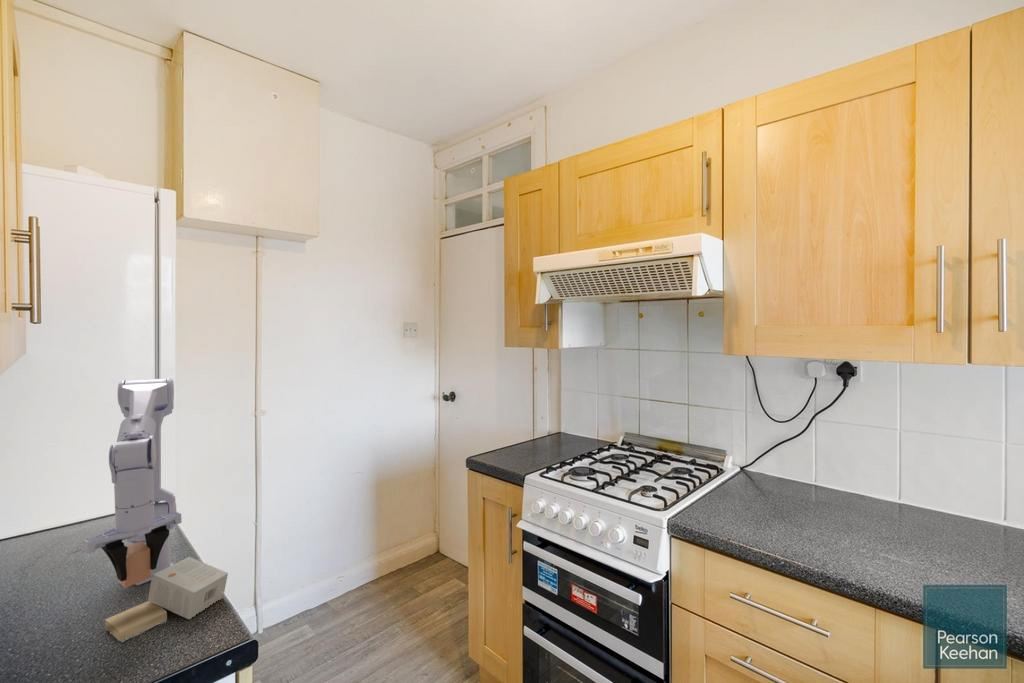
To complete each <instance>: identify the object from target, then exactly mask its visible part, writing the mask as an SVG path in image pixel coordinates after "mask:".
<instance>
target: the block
mask: <svg viewBox="0 0 1024 683" xmlns="http://www.w3.org/2000/svg"><path fill="white" fill-rule="evenodd" d="M126 547H128V549H127V556H126V570H127V579H126V580H125V581H120V580H119V579H118V578H117V574H116V573H115V578H116V581H117V582H118V583H119V584H120V585H121V586H122V587H123V588H125V589H126V588H129V587H131V586H134V585H135V584H136V583H139V582H141V581H143V580H146V579H148V578H150V577H151V571H150V548H149V547H148V546H146V545H145V544H144V543H142V542H141V541H140V542H138V543H135V544H132V545H129V546H126Z"/></svg>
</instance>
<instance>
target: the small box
mask: <svg viewBox="0 0 1024 683" xmlns="http://www.w3.org/2000/svg"><path fill="white" fill-rule="evenodd" d="M173 564H174V565H172V566H170V567H168V568H166V569H164V570H161V571H159V572H157V573H155V574H153V575H152V579H151V580H150V585H149V592H148V597H147V601H149V602H152V603H154V604H156V605H158V606H160V607H161V608H163V609H164V610H166V611H170V612H171V613H174V614H176V615H178V616H180V617H182V618H185V619H186V620H191V619H193V618H194V617H196V614H197V615H199V612H200V613H201V612H203V611H204V610H206V609H207V608H209V607H210V605H211V606H212V605H214V604H215V603H217V602H219V601H221V600H222V599H223V598H224V595H225V591H226V585H227V580H228V575H229V573H228V572H226V571H224V570H223V569H219V568H217V567H215V566H212V565H210V564H208V563H205V562H202V561H200V560H198V559H196V558H193V557H191V556H187V557H185V558H184V559H182V560H180V561H178V562H176V563H173ZM219 588H220V589H219ZM221 591H222V592H223V593H224V595H223V594H222V592H221ZM222 596H223V597H222ZM218 600H219V601H218ZM216 601H217V602H216ZM213 603H214V604H213ZM205 608H206V609H205ZM192 617H193V618H192Z"/></svg>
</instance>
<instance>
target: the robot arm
mask: <svg viewBox="0 0 1024 683" xmlns="http://www.w3.org/2000/svg"><path fill="white" fill-rule="evenodd" d="M174 385H175V384H174V380H173V379H172V378H171V377H166V378H153V379H152V378H151V379H149V378H148V379H134V380H133V379H132V380H130V379H129V380H126V379H122V380H120V382H119V383H118V384H117V403H118V405H119V407H120V411H121V413H122V414H123V416H124V419H123V420H121V423H120V425H119V431H118V435H117V439H116V442H115V444H114V445H113V444H112V445H110V448H109V450H108V465H109V466H108V467H109V469H110V474H111V484H114V485H113V489H114V490H113V491H114V512H115V513H114V515H115V516H114V517H115V522H114V523H115V527H114V528H112V529H109V530H106V531H104V532H101V533H99V534H96V535H94V536H92V537H88V538H85V539H83V551H84V552H86V553H89V554H90V553H92V552H95V551H96V550H97V549H100V548H101V550H102V551H104V553H105V554H106V555H107V557H108V558H109V560H110V562H111V564H112V566H113V568H114V571H115V575H116V574H117V578H118V579H119V580H120V581H125V580H126V579H127V570H126V556H127V549H128V547H126V546H129V545H132V544H135V543H138V542H140V541H141V542H142V543H144V544H145V545H146V546H148V547H149V548H150V571H151V577H150V578H148V579H146V580H143V581H141V582H139V583H136V584H134V585H135V586H141V585H143V584H145V583H148V582H151V579H152V575H153V574H155V573H157V572H159V571H161V570H164V569H166V568H168V567H170V566H172V565H174V564H175V563H172V561H171V540H170V530H174V528H175V527H176V525H179V524H181V523H183V522H182V513H181V512H179V511H177V503H176V496H175V494H174V493H173V492H171V491H169V490H166V489H165V488H162V482H161V481H162V480H161V478H162V476H161V474H162V469H161V467H162V463H161V462H162V460H161V459H162V458H161V457H162V454H161V453H162V451H161V450H162V437H161V436H162V424H163V420H164V418H165V417H167V416H169V415H170V414H172V413H173V409H174V405H175V404H174V402H175V401H174V399H175V397H174V396H175V389H174V388H175V387H174ZM162 501H163V502H162ZM156 502H158V503H156ZM123 541H124V542H123Z"/></svg>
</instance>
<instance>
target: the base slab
mask: <svg viewBox="0 0 1024 683" xmlns="http://www.w3.org/2000/svg"><path fill="white" fill-rule="evenodd" d="M167 611H168V610H166V609H165V608H163V607H160V606H158V605H156V604H154V603H152V602H149V601H148V600H147V601H145V602H142V603H140V604H138V605H135V606H133V607H131V608H129V609H126V610H124V611H122V612H119V613H117V614H114V615H113V616H112V615H111V616H110V617H107V618H105V620H104V624H105V627H104V628H105V630H106V629H107V630H108V631H109V632H111V633H112V634H113V635H114V636H115V637H117V638H118V639H119V640H121V641H122V640H124V639H126V638H128V637H131V636H133V635H135V634H137V633H139V632H141V631H143V630H145V629H148V628H150V627H152V626H154V625H156V624H158V623H160V622H162V621H164V620H166V619H167V620H168V612H167Z"/></svg>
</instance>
